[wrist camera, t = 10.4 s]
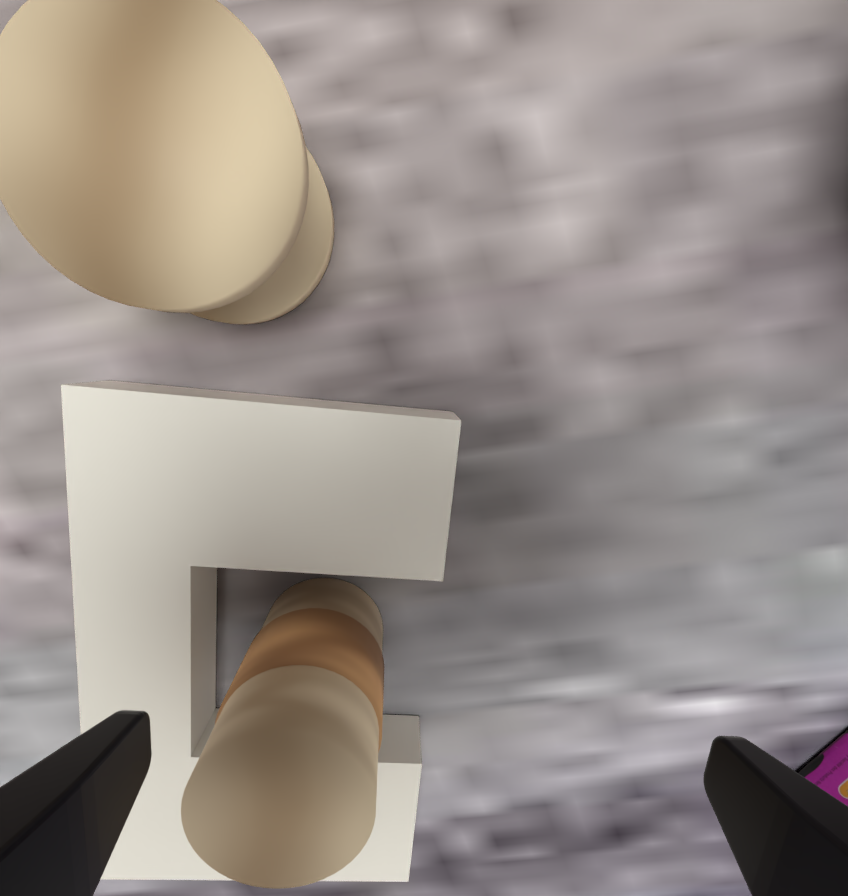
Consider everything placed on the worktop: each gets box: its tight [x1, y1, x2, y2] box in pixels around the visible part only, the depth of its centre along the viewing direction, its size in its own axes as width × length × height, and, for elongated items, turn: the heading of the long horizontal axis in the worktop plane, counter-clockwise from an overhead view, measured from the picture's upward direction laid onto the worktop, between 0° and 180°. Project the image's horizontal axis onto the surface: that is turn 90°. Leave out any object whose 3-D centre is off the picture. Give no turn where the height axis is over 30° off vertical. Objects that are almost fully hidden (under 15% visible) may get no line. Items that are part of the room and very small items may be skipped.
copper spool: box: [181, 578, 384, 888], centre depth 16 cm, size 5×5×8 cm
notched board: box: [61, 380, 461, 882], centre depth 18 cm, size 13×20×2 cm, turn 174°
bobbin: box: [0, 0, 334, 325], centre depth 13 cm, size 7×7×6 cm
